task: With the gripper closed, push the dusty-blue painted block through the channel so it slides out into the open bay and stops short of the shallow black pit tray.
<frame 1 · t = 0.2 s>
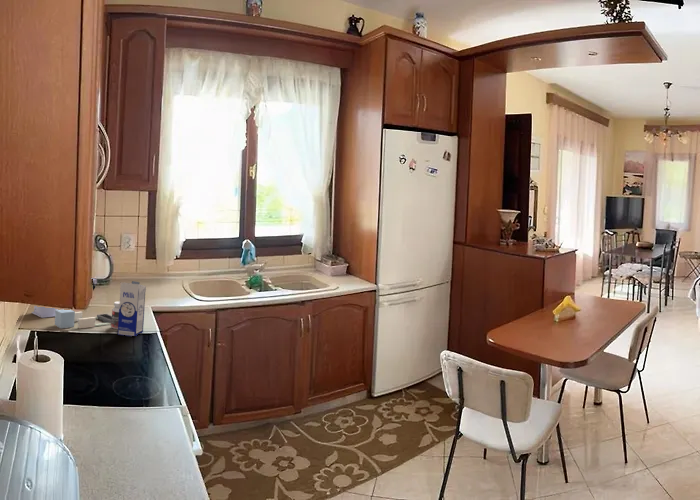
hand: (75, 304, 215), 10 cm above the countertop, fingers open, 7 cm apart
pill bottle: (119, 328, 225), on the countertop
pit tray: (108, 320, 233), on the countertop
block: (64, 326, 220), on the countertop
channel: (80, 324, 225), on the countertop
milk carton: (130, 334, 218), on the countertop
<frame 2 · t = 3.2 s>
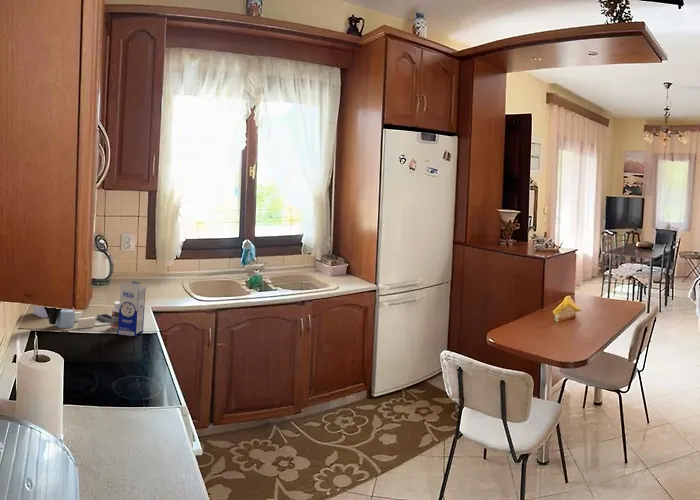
hand: (52, 323, 216), 1 cm above the countertop, fingers closed
block: (64, 326, 220), on the countertop, touching gripper
everything else where it was.
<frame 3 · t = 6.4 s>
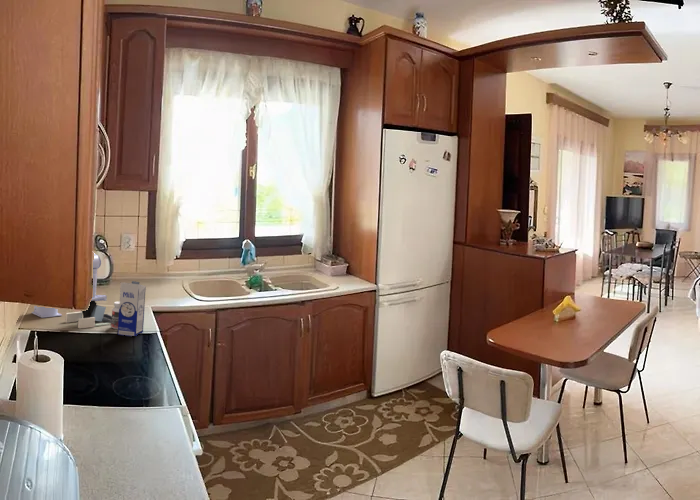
hand: (86, 320, 226), 1 cm above the countertop, fingers closed
block: (92, 319, 230), point 1 cm above the countertop, tilted 19°, touching gripper, channel
everything else where it was.
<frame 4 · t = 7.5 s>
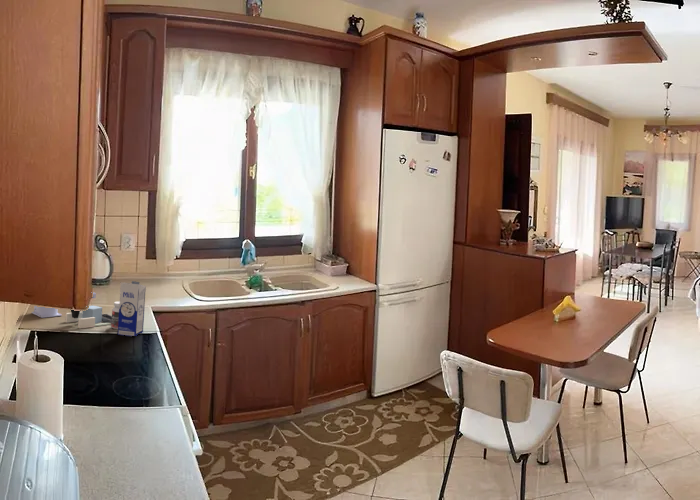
hand: (75, 317, 223), 3 cm above the countertop, fingers closed
block: (91, 322, 229), on the countertop
everything else where it was.
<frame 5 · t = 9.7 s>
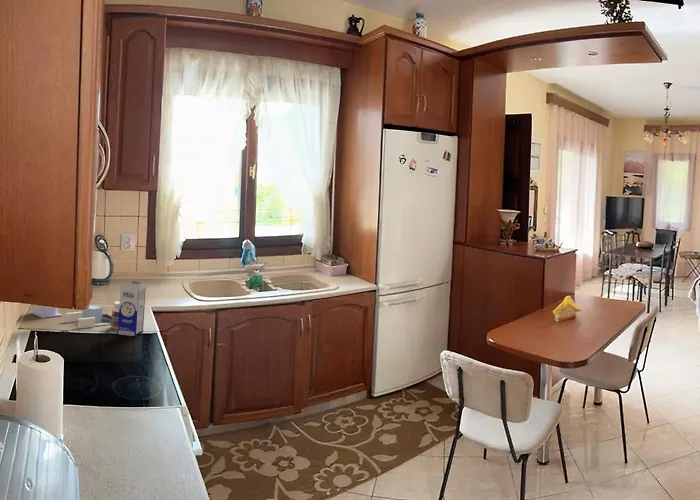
hand: (64, 298, 222), 10 cm above the countertop, fingers closed
nothing on the countertop moved.
at the end: block 1.4 cm from the target spot, on the countertop; block touching countertop; block tilted 0° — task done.
